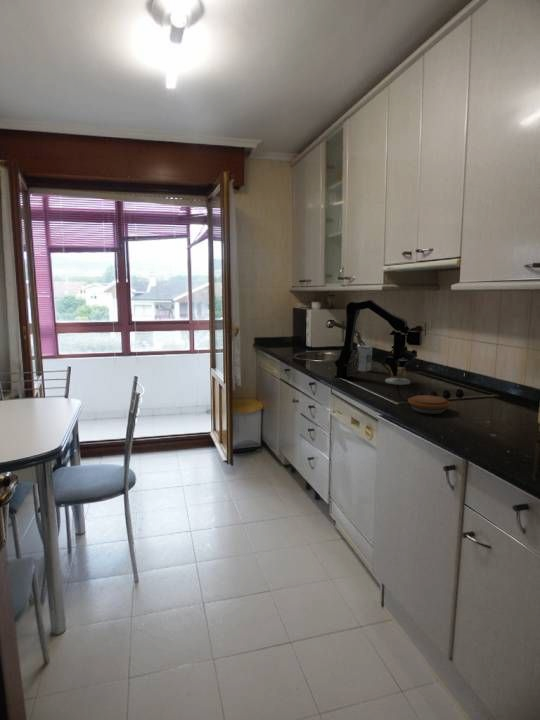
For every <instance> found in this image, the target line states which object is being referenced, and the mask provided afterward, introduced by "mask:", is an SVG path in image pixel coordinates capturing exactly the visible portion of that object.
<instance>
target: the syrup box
mask: <svg viewBox="0 0 540 720" xmlns="http://www.w3.org/2000/svg"><path fill="white" fill-rule="evenodd" d="M357 353H358V354H357V372H364V373H367V372H371V371H372V362H373V361H372V359H373V345H369V344H368V345H367V344H363V345H358V352H357Z"/></svg>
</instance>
